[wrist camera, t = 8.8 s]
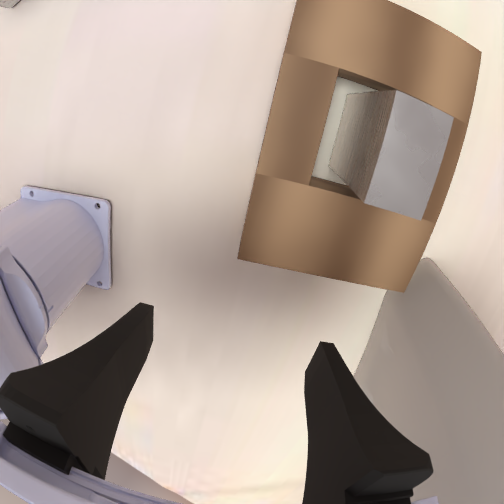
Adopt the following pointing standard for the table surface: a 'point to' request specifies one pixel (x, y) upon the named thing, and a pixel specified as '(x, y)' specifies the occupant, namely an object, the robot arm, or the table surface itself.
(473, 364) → the tall grey carton
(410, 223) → the well block
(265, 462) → the table surface
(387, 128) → the brushed metal block
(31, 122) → the table surface
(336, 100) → the table surface
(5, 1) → the skincare box
